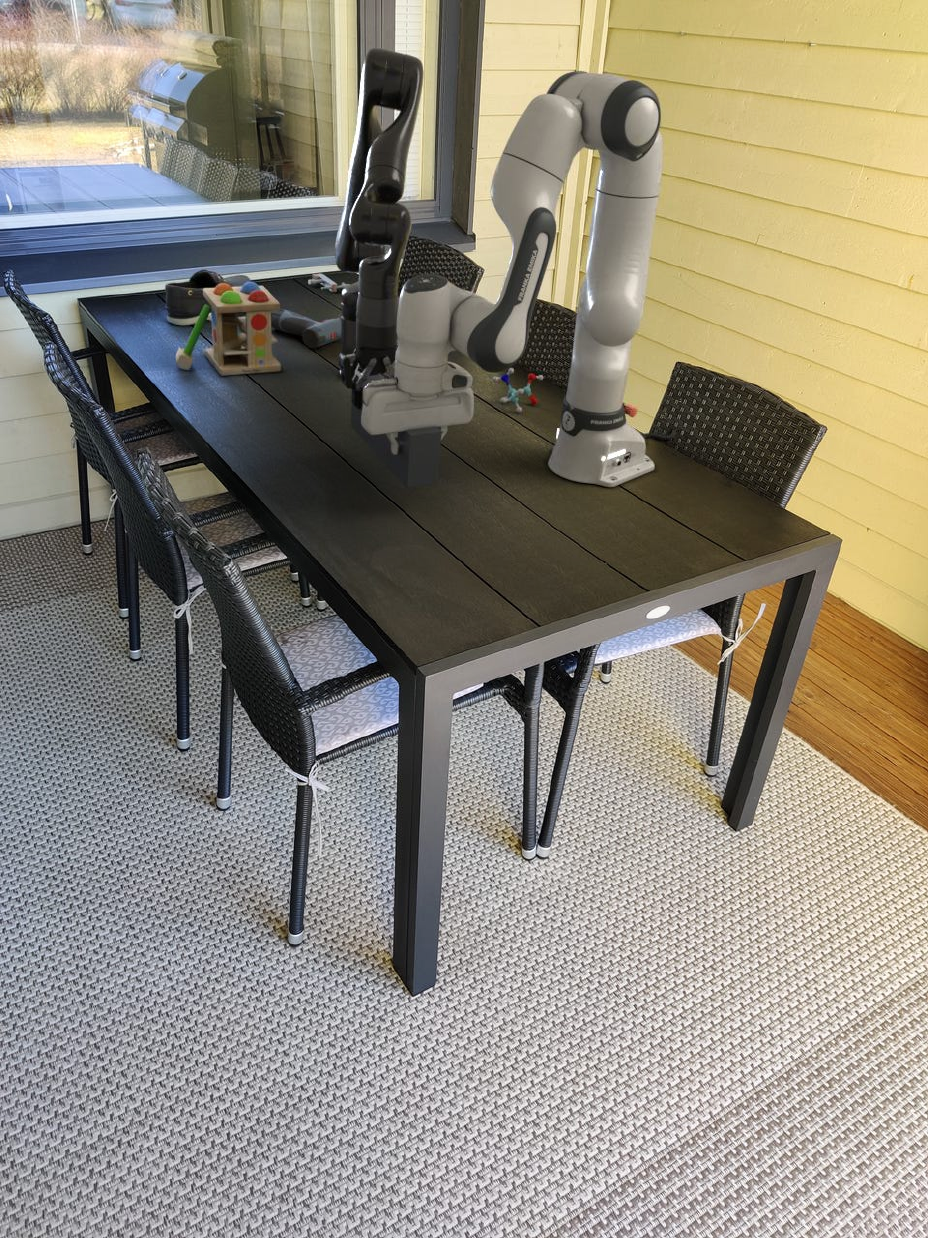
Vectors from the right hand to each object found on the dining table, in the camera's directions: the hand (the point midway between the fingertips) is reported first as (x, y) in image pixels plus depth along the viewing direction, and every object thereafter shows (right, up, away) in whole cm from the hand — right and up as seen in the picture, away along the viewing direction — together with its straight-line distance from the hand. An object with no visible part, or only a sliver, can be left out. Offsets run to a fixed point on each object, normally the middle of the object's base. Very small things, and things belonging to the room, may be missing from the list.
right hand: (415, 450), depth 174 cm
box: (-5, +1, +10) cm, 11 cm away
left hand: (-9, +11, +14) cm, 20 cm away
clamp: (-31, +67, +114) cm, 136 cm away
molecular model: (+20, +19, +51) cm, 58 cm away
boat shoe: (-59, +53, +89) cm, 119 cm away
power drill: (-31, +44, +79) cm, 96 cm away
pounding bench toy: (-48, +30, +56) cm, 79 cm away
